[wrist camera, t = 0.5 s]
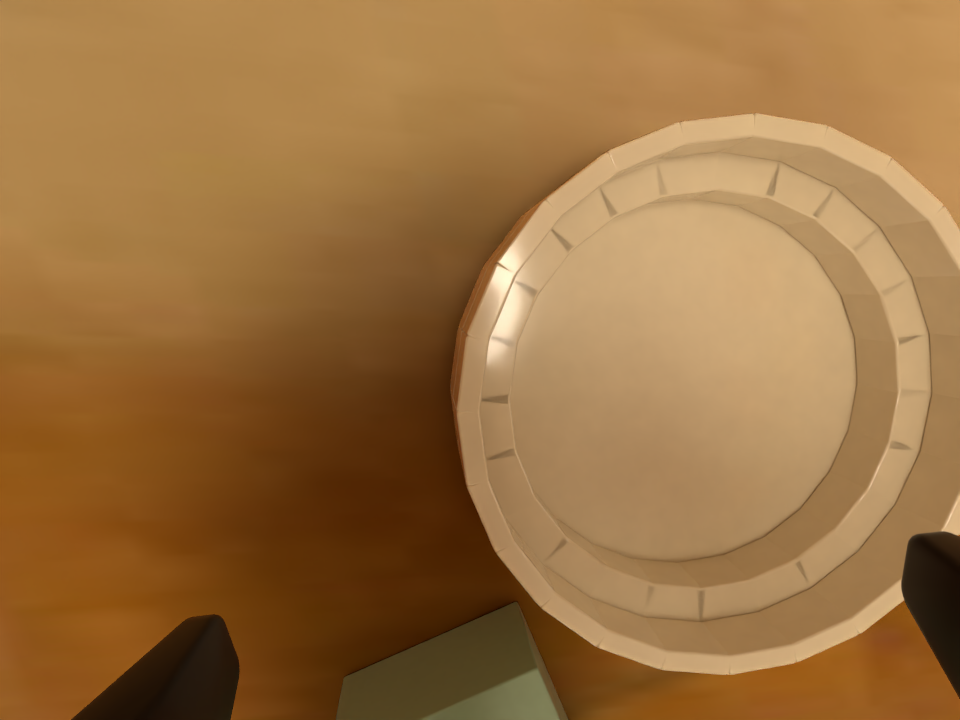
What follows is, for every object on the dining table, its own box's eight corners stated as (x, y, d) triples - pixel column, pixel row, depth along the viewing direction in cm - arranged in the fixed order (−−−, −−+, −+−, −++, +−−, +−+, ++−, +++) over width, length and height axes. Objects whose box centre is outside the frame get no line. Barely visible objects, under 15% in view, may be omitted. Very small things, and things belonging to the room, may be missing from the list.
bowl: (941, 493, 23) (1064, 542, 19) (552, 667, 23) (584, 760, 18) (808, 80, 21) (912, 24, 17) (376, 258, 21) (364, 250, 16)
